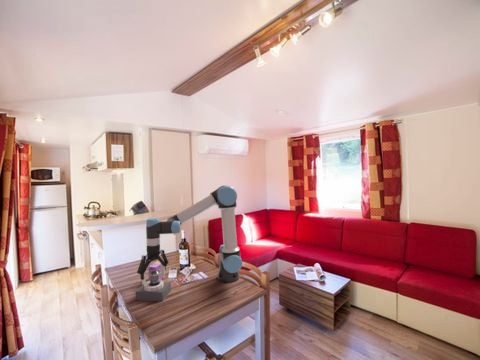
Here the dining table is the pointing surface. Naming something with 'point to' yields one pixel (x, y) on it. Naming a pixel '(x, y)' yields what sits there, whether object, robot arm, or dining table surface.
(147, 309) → the dining table surface
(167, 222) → the robot arm
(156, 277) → the lens
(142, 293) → the camera body
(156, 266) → the box
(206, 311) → the dining table surface
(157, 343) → the dining table surface
